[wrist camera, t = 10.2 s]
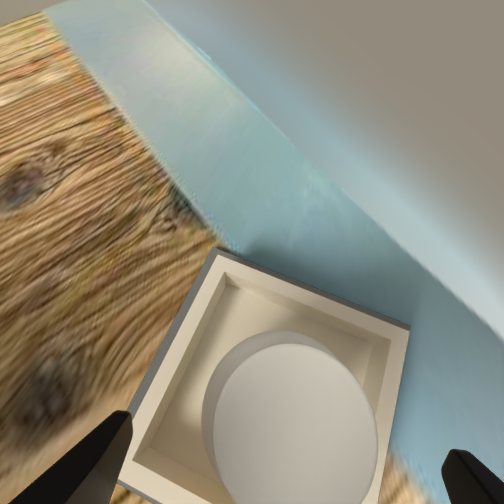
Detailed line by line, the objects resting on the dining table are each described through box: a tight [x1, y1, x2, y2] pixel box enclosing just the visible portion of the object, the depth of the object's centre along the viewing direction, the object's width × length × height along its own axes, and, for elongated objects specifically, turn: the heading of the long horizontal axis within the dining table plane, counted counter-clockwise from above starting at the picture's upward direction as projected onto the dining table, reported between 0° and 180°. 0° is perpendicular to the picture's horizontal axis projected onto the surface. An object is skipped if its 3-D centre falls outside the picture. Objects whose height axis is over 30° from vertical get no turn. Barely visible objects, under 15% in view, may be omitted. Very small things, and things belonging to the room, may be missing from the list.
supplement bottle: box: [201, 330, 378, 504], centre depth 11 cm, size 5×5×10 cm
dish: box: [118, 255, 410, 504], centre depth 15 cm, size 11×11×3 cm
